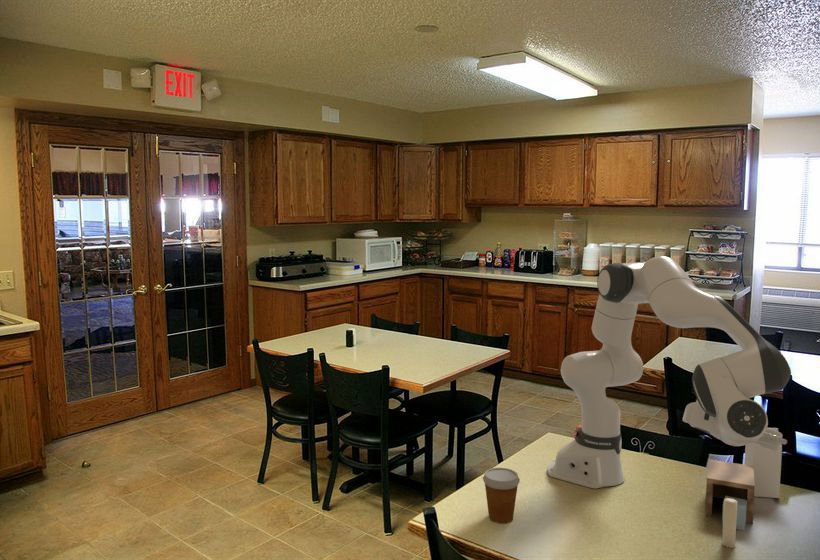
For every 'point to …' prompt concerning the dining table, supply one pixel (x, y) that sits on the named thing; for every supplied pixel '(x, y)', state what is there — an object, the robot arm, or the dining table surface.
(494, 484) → the disposable coffee cup
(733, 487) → the walnut cubby
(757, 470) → the milk carton
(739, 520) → the cream rounded block
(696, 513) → the dining table surface
